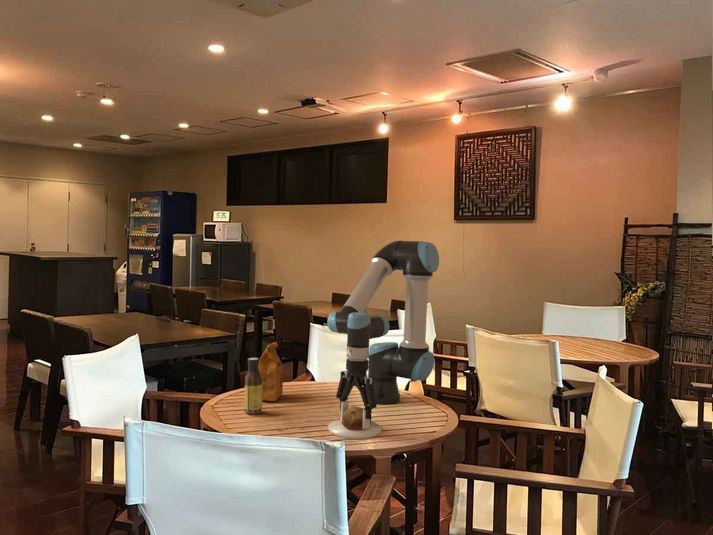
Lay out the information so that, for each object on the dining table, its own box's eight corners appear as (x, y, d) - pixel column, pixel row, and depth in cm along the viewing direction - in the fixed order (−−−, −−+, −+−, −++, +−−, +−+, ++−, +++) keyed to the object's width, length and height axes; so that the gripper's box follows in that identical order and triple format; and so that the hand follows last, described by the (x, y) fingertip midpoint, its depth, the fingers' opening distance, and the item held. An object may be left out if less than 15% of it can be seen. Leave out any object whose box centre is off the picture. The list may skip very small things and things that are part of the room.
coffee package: (286, 396, 243) (288, 342, 242) (276, 404, 231) (278, 347, 230) (263, 393, 245) (264, 340, 244) (252, 401, 233) (253, 345, 232)
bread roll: (345, 430, 208) (336, 409, 207) (372, 418, 208) (363, 397, 208) (347, 440, 198) (337, 418, 197) (375, 427, 199) (366, 405, 198)
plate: (355, 419, 215) (355, 415, 215) (392, 432, 202) (392, 428, 202) (317, 428, 203) (317, 425, 203) (353, 443, 190) (353, 439, 190)
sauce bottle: (265, 412, 220) (267, 358, 219) (255, 416, 214) (257, 361, 213) (250, 409, 222) (252, 356, 222) (240, 413, 217) (242, 359, 216)
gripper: (327, 354, 207) (324, 417, 208) (373, 366, 191) (370, 434, 192) (343, 352, 212) (340, 414, 213) (389, 363, 196) (386, 430, 197)
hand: (354, 423), depth 203 cm, fingers closed on bread roll, 10 cm apart
